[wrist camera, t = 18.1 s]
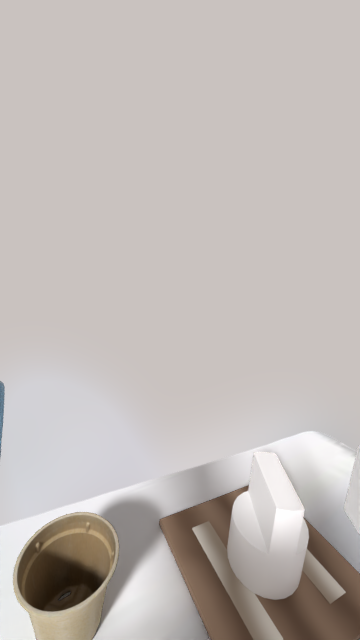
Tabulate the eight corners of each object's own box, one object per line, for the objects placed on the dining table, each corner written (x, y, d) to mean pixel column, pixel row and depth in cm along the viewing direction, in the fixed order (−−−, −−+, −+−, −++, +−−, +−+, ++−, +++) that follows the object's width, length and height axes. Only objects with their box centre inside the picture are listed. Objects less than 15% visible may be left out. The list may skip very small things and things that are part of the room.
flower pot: (135, 605, 31) (138, 541, 29) (60, 722, 23) (57, 645, 21) (77, 555, 35) (76, 497, 33) (-3, 638, 27) (-9, 569, 25)
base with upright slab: (221, 523, 40) (230, 450, 37) (283, 526, 40) (297, 453, 38) (235, 598, 31) (248, 509, 29) (314, 600, 32) (334, 512, 29)
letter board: (253, 734, 23) (254, 727, 23) (159, 524, 40) (159, 519, 40) (389, 611, 32) (391, 605, 32) (264, 482, 49) (265, 478, 49)
